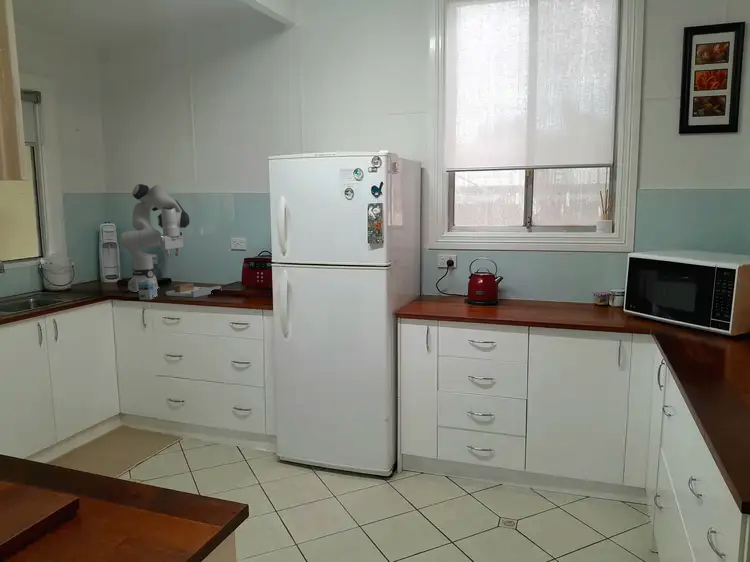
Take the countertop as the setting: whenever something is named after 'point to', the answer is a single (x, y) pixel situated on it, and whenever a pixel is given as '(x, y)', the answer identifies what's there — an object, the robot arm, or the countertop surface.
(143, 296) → the light bulb box
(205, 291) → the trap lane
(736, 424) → the countertop surface
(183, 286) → the walnut block
